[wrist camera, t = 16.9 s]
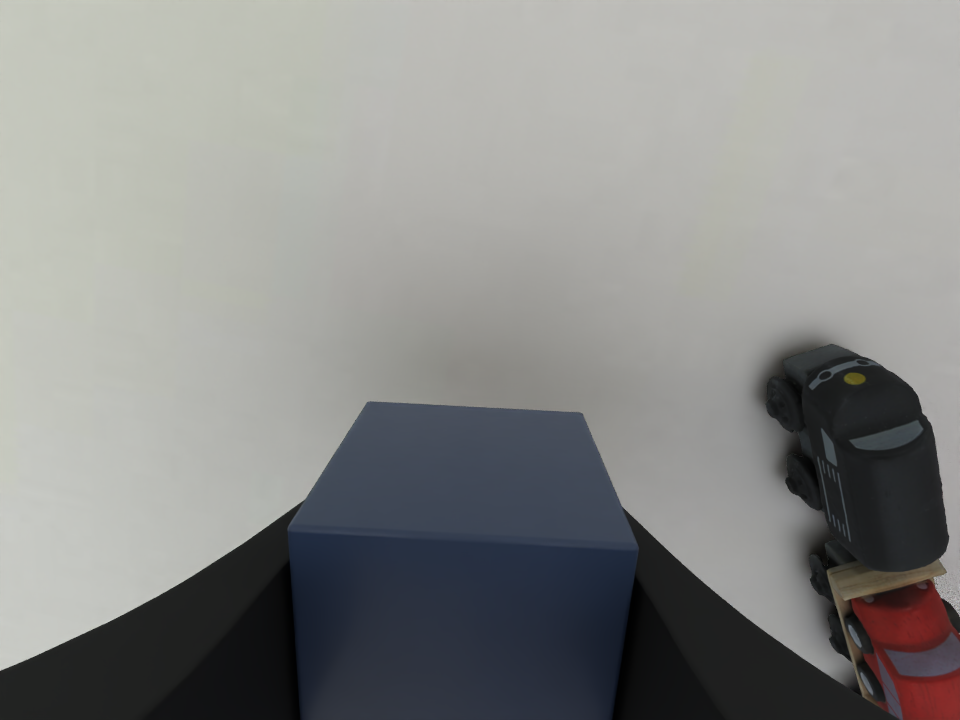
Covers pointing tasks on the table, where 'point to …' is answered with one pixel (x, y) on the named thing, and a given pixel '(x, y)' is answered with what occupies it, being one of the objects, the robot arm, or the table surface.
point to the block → (461, 570)
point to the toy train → (875, 526)
